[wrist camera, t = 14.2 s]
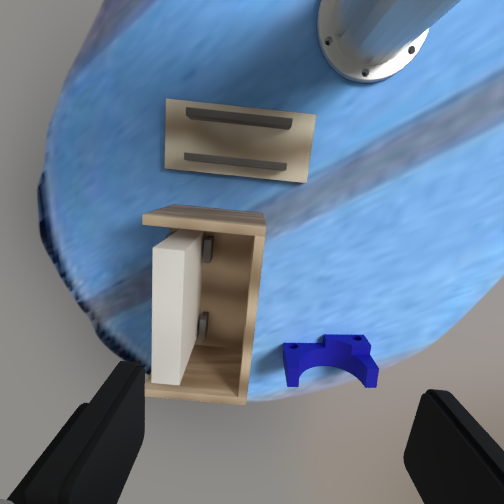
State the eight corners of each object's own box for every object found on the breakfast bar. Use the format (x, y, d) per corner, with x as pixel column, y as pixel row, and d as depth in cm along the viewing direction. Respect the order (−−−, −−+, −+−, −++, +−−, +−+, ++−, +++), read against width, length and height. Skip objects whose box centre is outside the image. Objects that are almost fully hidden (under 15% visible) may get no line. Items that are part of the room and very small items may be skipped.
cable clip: (363, 334, 43) (380, 358, 37) (360, 359, 44) (376, 387, 38) (283, 333, 43) (288, 357, 37) (283, 359, 44) (287, 386, 38)
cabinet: (174, 204, 38) (142, 214, 27) (263, 213, 38) (266, 226, 27) (170, 342, 43) (142, 396, 32) (248, 349, 43) (246, 405, 33)
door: (175, 227, 37) (144, 246, 26) (204, 229, 37) (184, 250, 26) (172, 329, 41) (144, 382, 30) (198, 331, 41) (179, 385, 30)
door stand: (169, 101, 35) (159, 92, 31) (314, 116, 35) (321, 109, 31) (167, 168, 37) (157, 167, 33) (304, 182, 37) (310, 183, 33)
